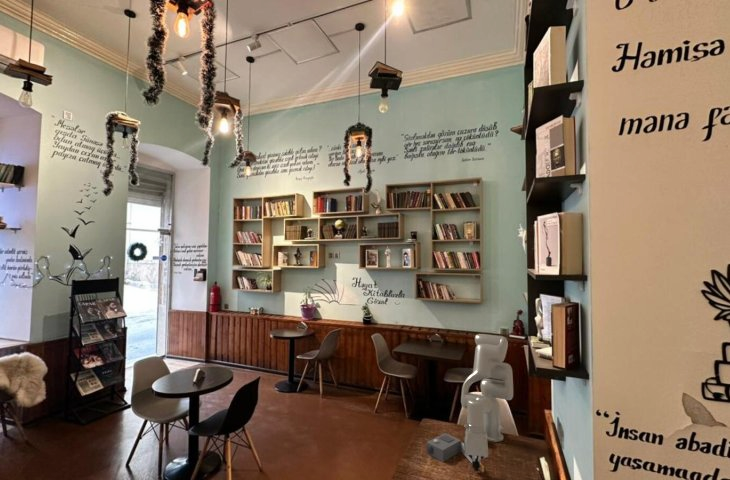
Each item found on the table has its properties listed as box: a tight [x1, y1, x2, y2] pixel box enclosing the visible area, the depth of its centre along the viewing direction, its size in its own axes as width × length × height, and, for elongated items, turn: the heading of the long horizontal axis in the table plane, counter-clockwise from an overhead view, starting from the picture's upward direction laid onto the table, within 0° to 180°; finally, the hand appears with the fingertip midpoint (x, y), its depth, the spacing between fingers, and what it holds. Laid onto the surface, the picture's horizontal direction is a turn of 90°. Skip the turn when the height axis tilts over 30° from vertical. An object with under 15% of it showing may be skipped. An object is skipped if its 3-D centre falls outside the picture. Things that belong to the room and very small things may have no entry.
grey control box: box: [426, 432, 462, 463], centre depth 170 cm, size 17×10×6 cm, turn 131°
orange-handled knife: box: [460, 441, 485, 473], centre depth 162 cm, size 20×1×4 cm, turn 12°
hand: (475, 469), depth 153 cm, fingers closed
